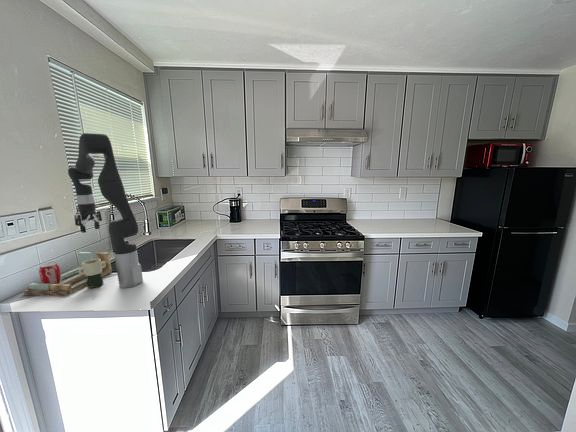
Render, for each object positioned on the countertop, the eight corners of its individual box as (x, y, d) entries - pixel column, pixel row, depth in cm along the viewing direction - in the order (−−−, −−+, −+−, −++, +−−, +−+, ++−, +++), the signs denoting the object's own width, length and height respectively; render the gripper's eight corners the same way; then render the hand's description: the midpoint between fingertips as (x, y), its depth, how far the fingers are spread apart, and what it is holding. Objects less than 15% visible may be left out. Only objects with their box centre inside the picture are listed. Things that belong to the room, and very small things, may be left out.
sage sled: (97, 270, 135) (93, 252, 133) (49, 292, 110) (44, 270, 108) (81, 270, 135) (78, 252, 133) (30, 292, 111) (25, 270, 109)
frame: (108, 274, 130) (107, 271, 129) (67, 296, 107) (66, 292, 107) (72, 273, 131) (71, 270, 131) (24, 294, 109) (23, 290, 109)
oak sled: (114, 271, 134) (111, 252, 132) (69, 293, 109) (65, 271, 107) (98, 270, 135) (95, 252, 133) (51, 293, 110) (46, 270, 108)
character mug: (104, 280, 123) (100, 256, 121) (111, 282, 120) (108, 258, 118) (78, 289, 114) (74, 263, 112) (86, 292, 111) (81, 266, 108)
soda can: (66, 283, 119) (62, 261, 117) (53, 290, 112) (48, 267, 110) (52, 284, 119) (47, 261, 117) (38, 291, 112) (33, 267, 110)
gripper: (80, 204, 126) (85, 233, 129) (103, 201, 140) (107, 227, 143) (67, 204, 126) (72, 233, 129) (91, 201, 140) (95, 227, 143)
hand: (90, 230), depth 136 cm, fingers open, 8 cm apart
